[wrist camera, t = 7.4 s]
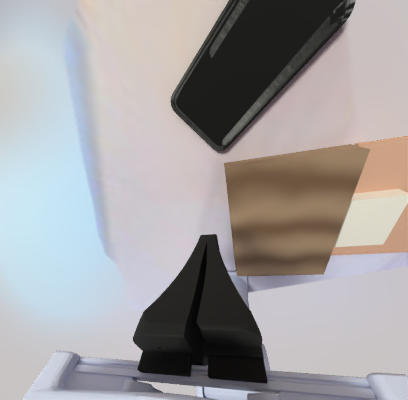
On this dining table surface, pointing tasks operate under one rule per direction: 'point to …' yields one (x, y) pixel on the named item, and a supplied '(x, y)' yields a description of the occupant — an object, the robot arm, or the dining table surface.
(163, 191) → the dining table surface
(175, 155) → the dining table surface
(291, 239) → the butcher block
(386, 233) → the tile
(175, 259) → the dining table surface
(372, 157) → the mat
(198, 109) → the phone
